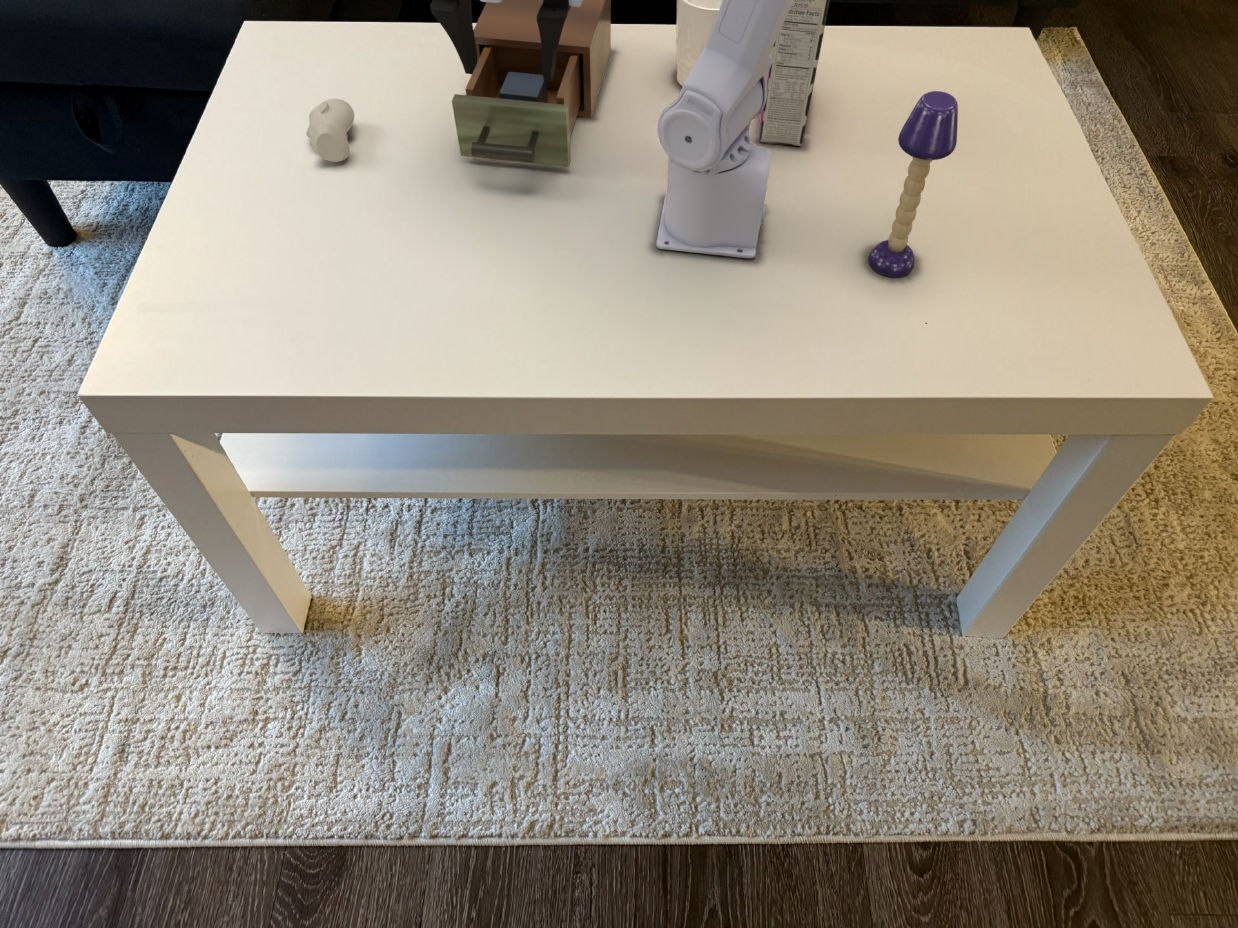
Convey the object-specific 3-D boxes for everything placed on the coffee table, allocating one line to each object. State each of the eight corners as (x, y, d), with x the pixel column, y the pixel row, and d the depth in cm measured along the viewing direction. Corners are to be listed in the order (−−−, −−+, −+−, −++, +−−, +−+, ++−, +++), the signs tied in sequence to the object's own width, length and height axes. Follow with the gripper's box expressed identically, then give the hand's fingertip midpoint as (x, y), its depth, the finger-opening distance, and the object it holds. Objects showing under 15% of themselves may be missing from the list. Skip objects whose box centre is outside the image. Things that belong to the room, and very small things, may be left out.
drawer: (560, 193, 86) (557, 137, 81) (449, 181, 87) (439, 125, 82) (589, 98, 96) (588, 43, 91) (489, 89, 97) (482, 33, 92)
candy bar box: (762, 86, 99) (785, -68, 86) (806, 90, 99) (836, -64, 85) (755, 144, 93) (779, -13, 79) (802, 149, 92) (834, -8, 79)
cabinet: (591, 118, 95) (590, 47, 89) (479, 107, 96) (470, 36, 90) (610, 52, 103) (610, -18, 96) (507, 43, 104) (500, -27, 97)
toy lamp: (868, 279, 81) (920, 118, 67) (857, 245, 83) (904, 84, 70) (918, 277, 81) (980, 115, 67) (905, 243, 84) (962, 82, 70)
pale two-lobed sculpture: (324, 133, 95) (365, 119, 94) (311, 177, 90) (355, 163, 89) (301, 98, 92) (344, 83, 91) (287, 142, 87) (332, 127, 86)
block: (548, 110, 93) (546, 75, 89) (540, 132, 90) (537, 97, 87) (512, 106, 93) (508, 71, 90) (502, 128, 91) (498, 93, 87)
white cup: (671, 59, 102) (677, -29, 94) (738, 61, 102) (749, -27, 94) (671, 97, 98) (676, 8, 89) (741, 99, 98) (753, 10, 89)
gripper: (395, -68, 70) (425, 88, 81) (571, -54, 69) (576, 103, 80) (420, -105, 74) (445, 48, 85) (587, -92, 73) (590, 62, 84)
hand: (510, 72), depth 83 cm, fingers open, 7 cm apart
